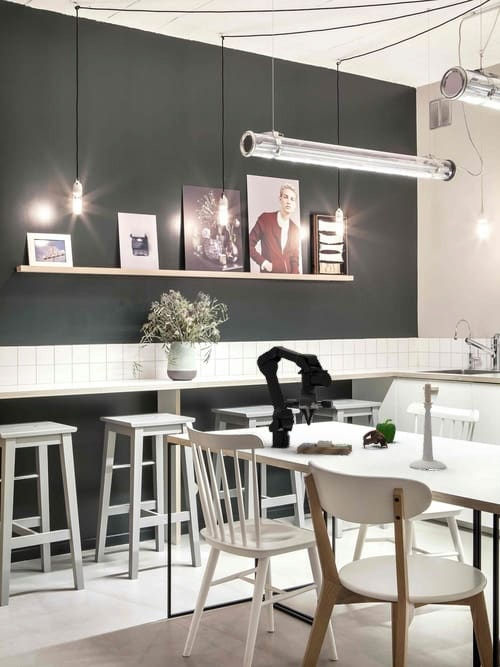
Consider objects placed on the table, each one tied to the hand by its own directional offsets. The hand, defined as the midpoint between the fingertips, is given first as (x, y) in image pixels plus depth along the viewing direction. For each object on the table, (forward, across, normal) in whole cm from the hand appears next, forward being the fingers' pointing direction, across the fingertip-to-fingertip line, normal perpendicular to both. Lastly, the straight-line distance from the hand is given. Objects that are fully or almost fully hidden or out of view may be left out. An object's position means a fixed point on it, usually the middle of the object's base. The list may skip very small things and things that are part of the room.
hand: (308, 425), depth 341 cm
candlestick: (+11, +47, -26) cm, 55 cm away
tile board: (+10, +6, 0) cm, 12 cm away
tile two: (+9, +6, 0) cm, 11 cm away
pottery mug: (+11, +24, +18) cm, 32 cm away
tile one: (+10, 0, 0) cm, 10 cm away
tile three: (+10, +13, 0) cm, 16 cm away
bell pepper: (+11, +27, +33) cm, 44 cm away
